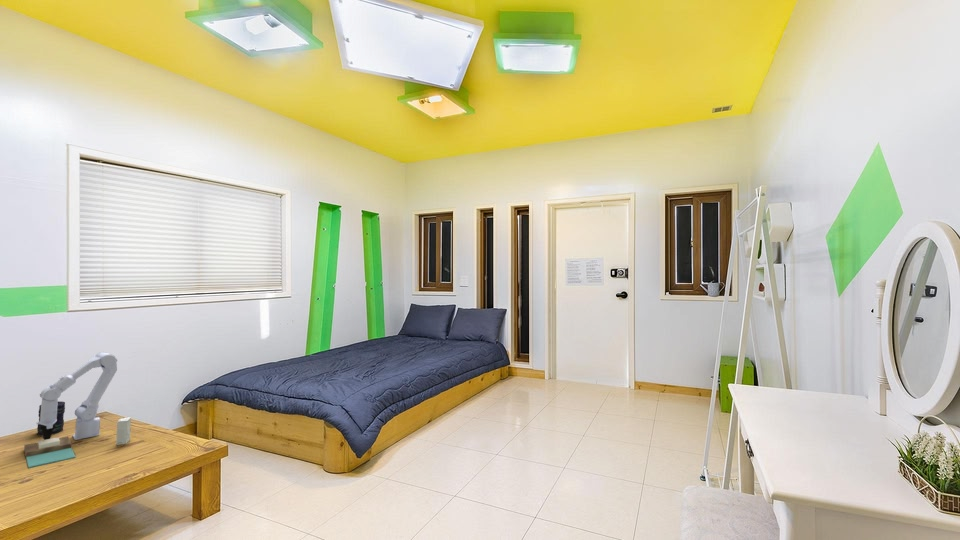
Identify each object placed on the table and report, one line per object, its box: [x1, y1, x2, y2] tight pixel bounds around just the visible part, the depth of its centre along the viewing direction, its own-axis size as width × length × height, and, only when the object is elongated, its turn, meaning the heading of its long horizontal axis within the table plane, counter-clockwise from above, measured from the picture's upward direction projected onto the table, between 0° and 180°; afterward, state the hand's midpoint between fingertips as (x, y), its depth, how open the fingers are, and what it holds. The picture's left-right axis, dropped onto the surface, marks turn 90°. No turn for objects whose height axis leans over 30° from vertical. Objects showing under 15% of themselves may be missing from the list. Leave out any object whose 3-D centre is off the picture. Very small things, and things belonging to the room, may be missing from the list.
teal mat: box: [25, 447, 76, 469], centre depth 191 cm, size 15×14×1 cm
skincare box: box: [115, 416, 132, 446], centre depth 212 cm, size 6×4×12 cm
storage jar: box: [36, 401, 66, 437], centre depth 219 cm, size 10×10×15 cm
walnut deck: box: [23, 436, 72, 458], centre depth 200 cm, size 15×12×2 cm
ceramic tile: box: [37, 437, 60, 449], centre depth 199 cm, size 7×6×2 cm
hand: (46, 439), depth 204 cm, fingers closed
